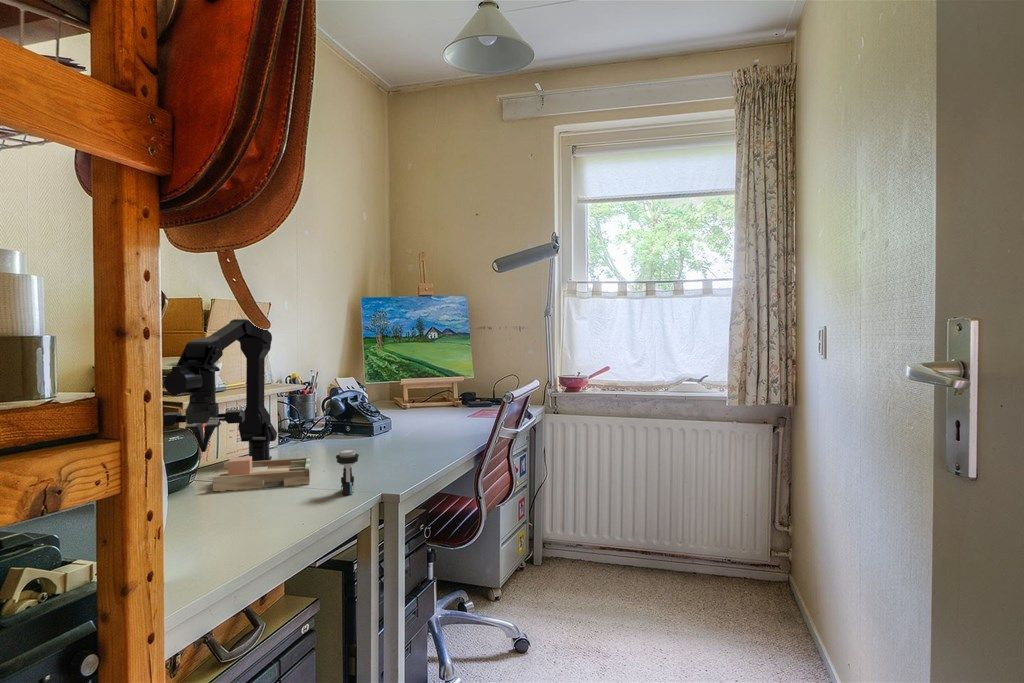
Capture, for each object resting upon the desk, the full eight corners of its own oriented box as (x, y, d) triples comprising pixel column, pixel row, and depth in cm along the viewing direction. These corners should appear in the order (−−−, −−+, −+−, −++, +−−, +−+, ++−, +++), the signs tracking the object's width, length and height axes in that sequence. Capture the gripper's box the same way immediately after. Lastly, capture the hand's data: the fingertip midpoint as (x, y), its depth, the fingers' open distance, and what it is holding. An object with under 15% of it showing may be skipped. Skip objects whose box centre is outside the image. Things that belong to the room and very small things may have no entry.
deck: (224, 476, 155) (224, 461, 155) (310, 469, 162) (310, 455, 162) (213, 492, 140) (213, 475, 140) (309, 484, 146) (309, 468, 146)
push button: (335, 489, 142) (334, 448, 142) (357, 487, 144) (357, 447, 144) (336, 496, 136) (336, 454, 135) (360, 494, 138) (359, 452, 137)
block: (231, 472, 150) (231, 457, 150) (252, 471, 152) (252, 456, 152) (228, 477, 146) (228, 461, 146) (249, 475, 147) (249, 460, 147)
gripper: (151, 395, 135) (152, 461, 136) (238, 392, 141) (239, 456, 141) (164, 390, 146) (165, 451, 146) (244, 388, 152) (245, 447, 152)
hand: (203, 451), depth 146 cm, fingers closed
